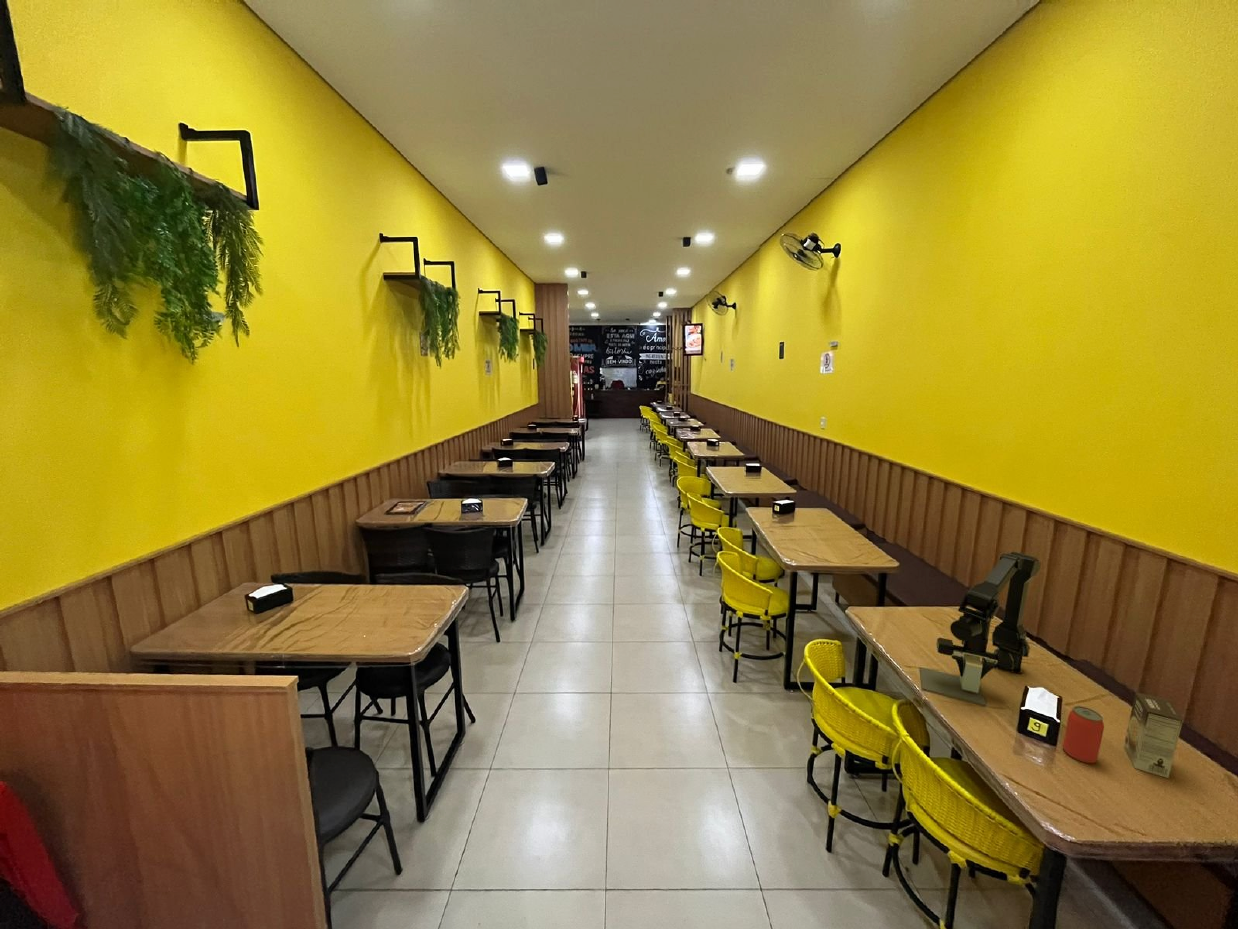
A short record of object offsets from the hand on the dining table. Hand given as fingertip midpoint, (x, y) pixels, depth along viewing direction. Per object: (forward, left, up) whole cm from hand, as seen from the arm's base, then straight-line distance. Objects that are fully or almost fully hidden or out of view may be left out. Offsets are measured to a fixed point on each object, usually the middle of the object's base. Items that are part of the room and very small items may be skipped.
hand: (969, 678), depth 152 cm
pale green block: (0, 0, -2) cm, 2 cm away
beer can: (-21, +18, -4) cm, 28 cm away
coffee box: (-35, +13, -4) cm, 38 cm away
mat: (+5, 0, -4) cm, 6 cm away
